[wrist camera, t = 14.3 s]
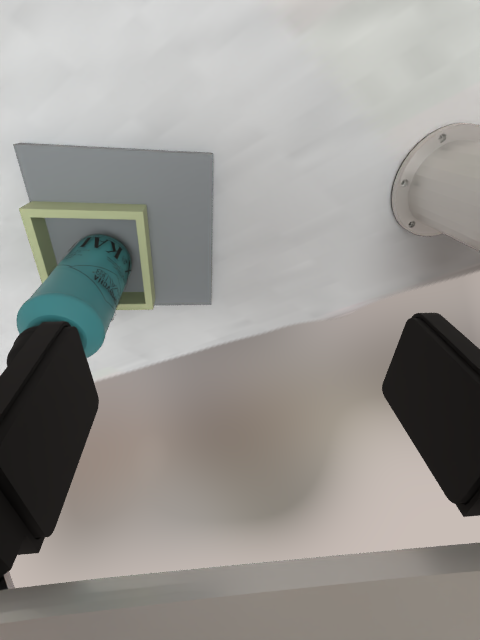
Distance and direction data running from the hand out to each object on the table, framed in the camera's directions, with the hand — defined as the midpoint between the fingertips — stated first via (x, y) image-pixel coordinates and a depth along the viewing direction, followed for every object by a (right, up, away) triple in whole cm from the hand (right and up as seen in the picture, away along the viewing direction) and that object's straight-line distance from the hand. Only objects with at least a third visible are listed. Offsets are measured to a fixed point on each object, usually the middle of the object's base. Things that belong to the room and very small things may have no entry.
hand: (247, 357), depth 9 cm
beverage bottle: (-16, +9, +28) cm, 34 cm away
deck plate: (-13, +11, +28) cm, 33 cm away
